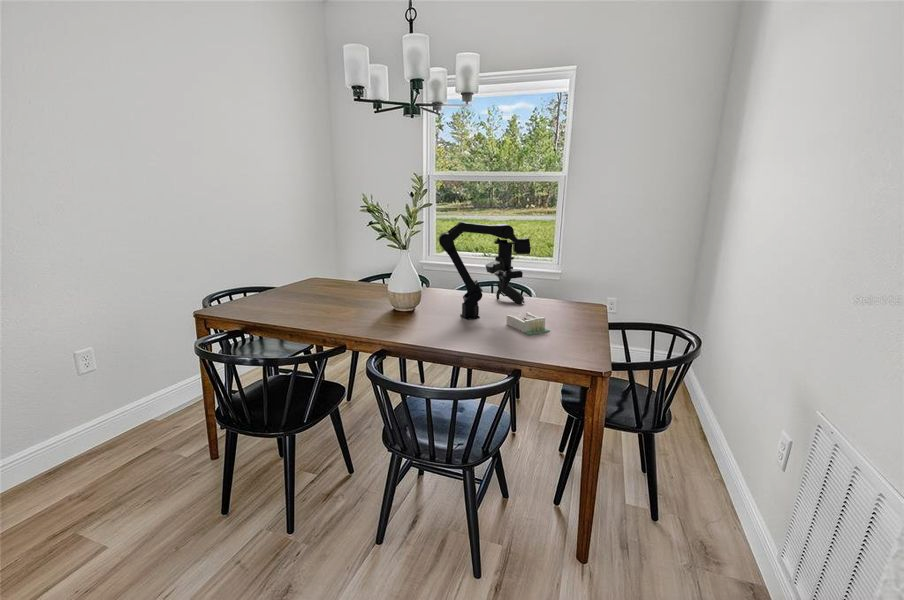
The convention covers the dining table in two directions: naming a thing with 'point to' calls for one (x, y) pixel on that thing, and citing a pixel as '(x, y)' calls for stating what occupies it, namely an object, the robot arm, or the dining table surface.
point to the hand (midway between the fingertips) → (503, 290)
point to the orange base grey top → (527, 318)
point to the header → (528, 324)
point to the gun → (510, 294)
